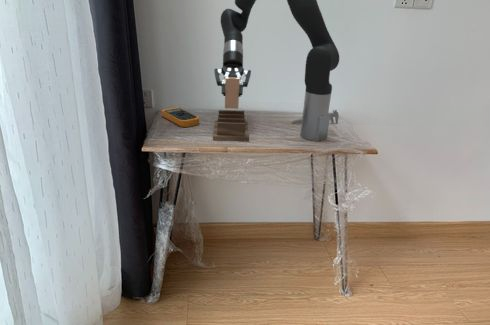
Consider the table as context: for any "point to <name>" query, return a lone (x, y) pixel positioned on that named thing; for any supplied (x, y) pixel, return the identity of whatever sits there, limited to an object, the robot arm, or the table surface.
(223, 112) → the ridged wooden board
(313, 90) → the robot arm
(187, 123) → the multimeter
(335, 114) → the caliper
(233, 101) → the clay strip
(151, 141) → the table surface
